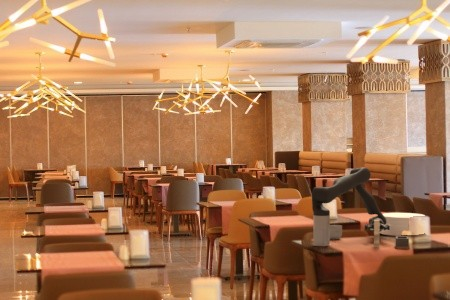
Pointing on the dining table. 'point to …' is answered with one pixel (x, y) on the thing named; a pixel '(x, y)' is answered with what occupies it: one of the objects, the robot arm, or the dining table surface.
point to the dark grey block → (402, 242)
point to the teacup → (335, 231)
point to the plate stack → (397, 222)
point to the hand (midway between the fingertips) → (377, 228)
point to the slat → (376, 233)
